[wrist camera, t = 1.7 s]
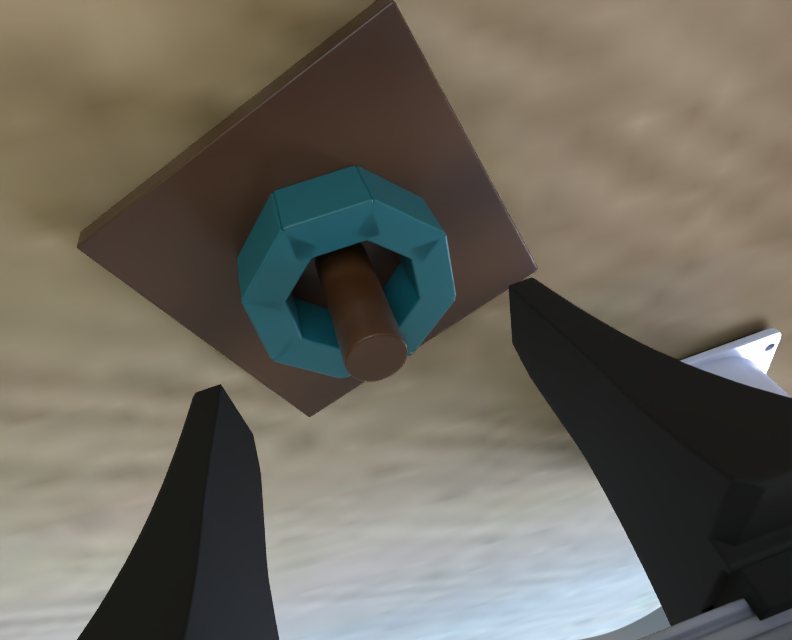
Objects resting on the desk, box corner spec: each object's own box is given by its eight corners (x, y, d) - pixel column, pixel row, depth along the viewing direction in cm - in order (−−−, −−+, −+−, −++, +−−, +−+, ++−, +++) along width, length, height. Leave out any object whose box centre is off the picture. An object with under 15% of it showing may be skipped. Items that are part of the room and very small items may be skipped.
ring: (442, 299, 19) (463, 337, 18) (282, 353, 19) (289, 397, 17) (414, 145, 15) (438, 177, 14) (211, 209, 15) (213, 250, 13)
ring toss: (528, 257, 20) (608, 355, 16) (306, 402, 22) (331, 522, 18) (385, -7, 13) (462, 53, 10) (79, 232, 15) (42, 364, 11)
